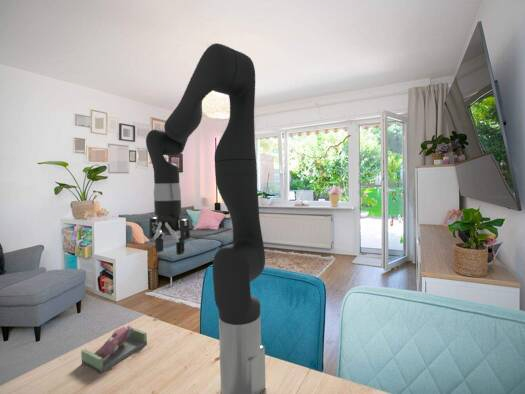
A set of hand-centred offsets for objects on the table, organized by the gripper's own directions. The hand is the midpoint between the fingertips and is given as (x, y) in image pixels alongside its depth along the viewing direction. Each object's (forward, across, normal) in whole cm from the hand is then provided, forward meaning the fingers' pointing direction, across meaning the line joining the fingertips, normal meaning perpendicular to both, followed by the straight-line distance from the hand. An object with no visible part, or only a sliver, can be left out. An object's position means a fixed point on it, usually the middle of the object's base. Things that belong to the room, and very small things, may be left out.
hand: (169, 252), depth 81 cm
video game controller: (+25, +8, +13) cm, 30 cm away
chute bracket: (+26, +8, +13) cm, 30 cm away
